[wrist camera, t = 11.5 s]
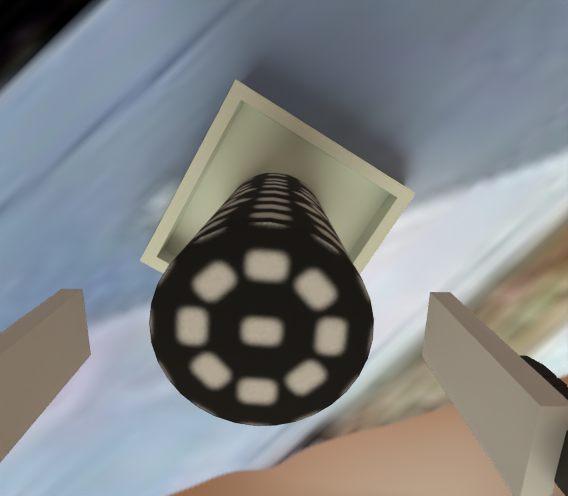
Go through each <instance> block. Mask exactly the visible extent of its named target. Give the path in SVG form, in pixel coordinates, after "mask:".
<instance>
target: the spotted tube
mask: <svg viewBox="0 0 568 496" xmlns="http://www.w3.org/2000/svg"><path fill="white" fill-rule="evenodd" d="M149 325H150V334H151V343H152V346H153V349H154V352H155V355H156V358H157V361H158V363H159V365H160V366H161V368H162V370H163V371H164V373H165V375H166V377H167V378H168V380H169V381H170V382H171V383H172V384H173V385H174V387H175V388H176V389H177V390H178V391H179V392H180V393H181V394H182V395H183V396H184V397H185V398H187V399H188V400H189V401H190V402H192V403H193V404H194V405H196V406H197V407H199V408H200V409H202V410H204V411H206V412H208V413H210V414H212V415H214V416H216V417H219V418H222V419H225V420H228V421H231V422H234V423H240V424H246V425H253V426H271V425H280V424H286V423H291V422H296V421H299V420H301V419H304V418H307V417H309V416H312V415H315V414H316V413H318V412H320V411H321V410H323V409H325V408H327V407H328V406H330V405H332V404H333V403H334V402H335V401H336V400H337V399H339V398H340V397H341V396H342V395H343V394H344V393H346V392H347V390H348V389H349V388H350V387H351V385H352V384H353V383H354V382H355V380H356V379H357V378H358V377H359V375H360V373H361V371H362V369H363V367H364V365H365V363H366V361H367V359H368V356H369V352H370V348H371V344H372V341H373V325H374V318H373V312H372V306H371V300H370V297H369V295H368V292H367V290H366V287H365V285H364V282H363V280H362V278H361V276H360V275H359V273H358V271H357V269H356V268H355V266H354V264H353V262H352V260H351V259H350V257H349V255H348V253H347V251H346V250H345V248H344V246H343V244H342V242H341V241H340V239H339V237H338V235H337V234H336V232H335V230H334V228H333V226H332V225H331V223H330V221H329V219H328V217H327V216H326V214H325V212H324V210H323V209H322V207H321V205H320V203H319V201H318V200H317V198H316V196H315V195H314V193H313V192H312V190H311V189H310V188H309V187H308V186H307V185H306V184H305V183H303V182H302V181H300V180H298V179H297V178H295V177H292V176H290V175H287V174H282V173H264V174H259V175H256V176H254V177H252V178H250V179H248V180H246V181H245V182H244V183H242V184H241V185H240V186H239V187H238V188H237V189H236V190H235V191H234V192H233V194H232V195H231V196H230V197H229V198H228V199H227V200H226V201H225V203H224V204H223V205H222V206H221V207H220V208H219V209H218V210H217V211H216V213H215V214H214V215H213V216H212V217H211V218H210V219H209V220H208V222H207V223H206V224H205V225H204V226H203V227H202V228H201V229H200V231H199V232H198V233H197V234H196V235H195V236H194V237H193V238H192V240H191V241H190V242H189V243H188V244H187V245H186V246H185V247H184V249H183V250H182V251H181V252H180V253H179V254H178V255H177V256H176V257H175V259H174V260H173V261H172V262H171V263H170V264H169V265H168V267H167V269H166V271H165V272H164V274H163V276H162V277H161V279H160V281H159V282H158V284H157V287H156V290H155V293H154V296H153V299H152V302H151V311H150V321H149Z"/></svg>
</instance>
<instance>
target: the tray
mask: <svg viewBox="0 0 568 496" xmlns="http://www.w3.org/2000/svg"><path fill="white" fill-rule="evenodd" d="M264 173H282V174H287V175H290V176H292V177H295V178H297V179H298V180H300V181H302V182H303V183H305V184H306V185H307V186H308V187H309V188H310V189H311V190H312V192H313V193H314V195H315V196H316V198H317V200H318V201H319V203H320V205H321V207H322V209H323V210H324V212H325V214H326V216H327V217H328V219H329V221H330V223H331V225H332V226H333V228H334V230H335V232H336V234H337V235H338V237H339V239H340V241H341V242H342V244H343V246H344V248H345V250H346V251H347V253H348V255H349V257H350V259H351V260H352V262H353V264H354V266H355V268H356V269H357V271H358V273H359V275H360V273H361V272H362V271H363V269H364V268H365V266H366V265H367V263H368V262H369V260H370V259H371V257H372V256H373V255H374V253H375V252H376V250H377V249H378V247H379V246H380V244H381V243H382V241H383V240H384V239H385V237H386V236H387V234H388V233H389V231H390V230H391V228H392V227H393V225H394V224H395V223H396V221H397V220H398V218H399V217H400V215H401V214H402V212H403V211H404V209H405V208H406V207H407V205H408V204H409V202H410V201H411V199H412V198H413V196H414V195H415V193H414V192H413V191H411V190H410V189H408V188H406V187H405V186H403V185H402V184H400V183H399V182H397V181H395V180H394V179H392V178H391V177H389V176H387V175H386V174H384V173H383V172H381V171H380V170H378V169H376V168H375V167H373V166H372V165H370V164H369V163H367V162H365V161H364V160H362V159H361V158H359V157H357V156H356V155H354V154H353V153H351V152H350V151H348V150H346V149H345V148H343V147H342V146H340V145H339V144H337V143H335V142H334V141H332V140H331V139H329V138H328V137H326V136H324V135H323V134H321V133H320V132H318V131H316V130H315V129H313V128H312V127H310V126H309V125H307V124H305V123H304V122H302V121H301V120H299V119H298V118H296V117H294V116H293V115H291V114H290V113H288V112H287V111H285V110H283V109H282V108H280V107H279V106H277V105H275V104H274V103H272V102H271V101H269V100H268V99H266V98H264V97H263V96H261V95H260V94H258V93H257V92H255V91H253V90H252V89H250V88H249V87H247V86H246V85H244V84H242V83H241V82H239V81H238V80H235V82H234V84H233V85H232V87H231V89H230V91H229V93H228V95H227V97H226V99H225V101H224V102H223V104H222V106H221V108H220V110H219V112H218V114H217V116H216V118H215V120H214V121H213V123H212V125H211V127H210V129H209V131H208V133H207V135H206V137H205V138H204V140H203V142H202V144H201V146H200V148H199V150H198V152H197V154H196V156H195V157H194V159H193V161H192V163H191V165H190V167H189V169H188V171H187V173H186V174H185V176H184V178H183V180H182V182H181V184H180V186H179V188H178V190H177V191H176V193H175V195H174V197H173V199H172V201H171V203H170V205H169V207H168V209H167V210H166V212H165V214H164V216H163V218H162V220H161V222H160V224H159V226H158V227H157V229H156V231H155V233H154V235H153V237H152V239H151V241H150V243H149V245H148V246H147V248H146V250H145V252H144V254H143V256H142V258H141V260H140V261H141V262H143V263H145V264H146V265H148V266H150V267H152V268H154V269H156V270H158V271H159V272H161V273H163V274H164V272H165V271H166V269H167V267H168V265H169V264H170V263H171V262H172V261H173V260H174V259H175V257H176V256H177V255H178V254H179V253H180V252H181V251H182V250H183V249H184V247H185V246H186V245H187V244H188V243H189V242H190V241H191V240H192V238H193V237H194V236H195V235H196V234H197V233H198V232H199V231H200V229H201V228H202V227H203V226H204V225H205V224H206V223H207V222H208V220H209V219H210V218H211V217H212V216H213V215H214V214H215V213H216V211H217V210H218V209H219V208H220V207H221V206H222V205H223V204H224V203H225V201H226V200H227V199H228V198H229V197H230V196H231V195H232V194H233V192H234V191H235V190H236V189H237V188H238V187H239V186H240V185H241V184H242V183H244V182H245V181H246V180H248V179H250V178H252V177H254V176H256V175H259V174H264Z"/></svg>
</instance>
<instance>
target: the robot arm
mask: <svg viewBox="0 0 568 496" xmlns="http://www.w3.org/2000/svg"><path fill="white" fill-rule="evenodd" d="M90 355H91V352H90V344H89V337H88V329H87V321H86V313H85V306H84V298H83V290H82V289H61V290H59V291H58V292H57V293H55V294H54V295H53V296H51V297H50V298H48V299H47V300H46V301H44V302H43V303H42V304H40V305H39V306H37V307H36V308H35V309H33V310H32V311H31V312H29V313H28V314H26V315H25V316H24V317H22V318H21V319H19V320H18V321H17V322H15V323H14V324H13V325H11V326H10V327H8V328H7V329H6V330H4V331H3V332H2V333H0V462H1V461H2V460H3V459H4V458H5V456H6V455H7V454H8V453H9V452H10V451H11V449H12V448H13V447H14V446H15V445H16V443H17V442H18V441H19V440H20V439H21V437H22V436H23V435H24V434H25V433H26V431H27V430H28V429H29V428H30V427H31V425H32V424H33V423H34V422H35V421H36V419H37V418H38V417H39V416H40V415H41V414H42V412H43V411H44V410H45V409H46V408H47V406H48V405H49V404H50V403H51V402H52V400H53V399H54V398H55V397H56V396H57V394H58V393H59V392H60V391H61V390H62V388H63V387H64V386H65V385H66V384H67V382H68V381H69V380H70V379H71V378H72V377H73V375H74V374H75V373H76V372H77V371H78V369H79V368H80V367H81V366H82V365H83V363H84V362H85V361H86V360H87V359H88V357H89V356H90ZM422 357H423V358H424V360H425V361H426V363H427V365H428V366H429V368H430V369H431V371H432V372H433V374H434V375H435V377H436V378H437V380H438V381H439V383H440V384H441V386H442V387H443V389H444V391H445V392H446V394H447V395H448V397H449V398H450V400H451V401H452V403H453V404H454V406H455V407H456V409H457V410H458V412H459V413H460V415H461V417H462V418H463V420H464V421H465V422H466V424H467V426H468V427H469V429H470V430H471V432H472V433H473V435H474V436H475V438H476V439H477V441H478V443H479V444H480V446H481V447H482V448H483V450H484V452H485V453H486V455H487V456H488V458H489V459H490V461H491V462H492V464H493V465H494V467H495V469H496V470H497V472H498V473H499V475H500V476H501V477H502V479H503V481H504V482H505V484H506V485H507V487H508V488H509V490H510V491H511V493H512V494H513V496H552V493H553V490H554V485H555V483H556V484H557V486H558V487H559V488H560V489H561V491H562V492H563V493H564V494H565V496H568V387H567V385H566V384H565V383H564V382H563V381H562V380H561V379H559V378H557V377H556V375H555V374H554V373H552V372H551V371H550V370H549V369H548V368H547V367H546V366H544V365H543V364H541V363H539V362H537V361H535V360H534V359H532V358H530V357H528V356H519V355H518V354H517V353H516V352H515V351H514V350H512V349H511V348H510V347H509V346H508V345H507V344H506V343H505V342H504V341H503V340H502V339H500V338H499V337H498V336H497V335H496V334H495V333H494V332H493V331H492V330H491V329H490V328H488V327H487V326H486V325H485V324H484V323H483V322H482V321H481V320H480V319H479V318H478V317H476V316H475V315H474V314H473V313H472V312H471V311H470V310H469V309H468V308H467V307H466V306H464V305H463V304H462V303H461V302H460V301H459V300H458V299H457V298H456V297H455V296H454V295H452V294H451V293H450V292H430V298H429V306H428V314H427V322H426V330H425V338H424V346H423V354H422Z"/></svg>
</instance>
